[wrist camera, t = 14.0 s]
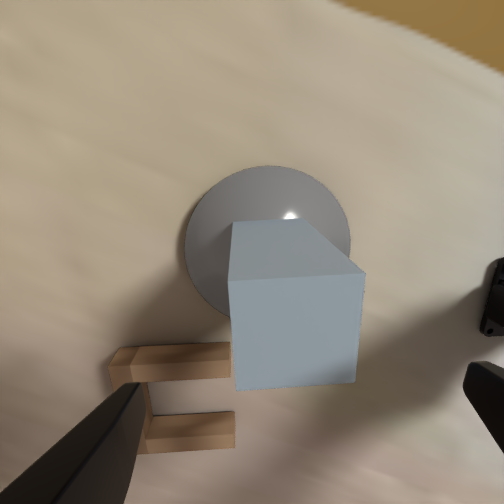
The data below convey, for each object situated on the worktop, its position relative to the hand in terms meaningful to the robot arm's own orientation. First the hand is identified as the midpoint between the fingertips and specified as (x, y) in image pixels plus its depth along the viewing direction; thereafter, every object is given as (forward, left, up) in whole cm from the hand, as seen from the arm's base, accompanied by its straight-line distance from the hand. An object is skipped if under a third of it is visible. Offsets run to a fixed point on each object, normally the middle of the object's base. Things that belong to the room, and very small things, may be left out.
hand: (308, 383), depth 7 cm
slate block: (0, 0, -11) cm, 11 cm away
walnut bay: (+7, +12, -12) cm, 18 cm away
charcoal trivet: (0, 0, -12) cm, 12 cm away
